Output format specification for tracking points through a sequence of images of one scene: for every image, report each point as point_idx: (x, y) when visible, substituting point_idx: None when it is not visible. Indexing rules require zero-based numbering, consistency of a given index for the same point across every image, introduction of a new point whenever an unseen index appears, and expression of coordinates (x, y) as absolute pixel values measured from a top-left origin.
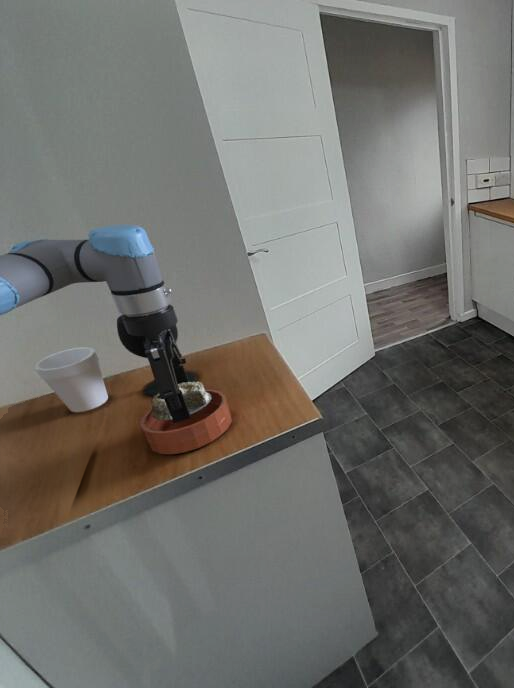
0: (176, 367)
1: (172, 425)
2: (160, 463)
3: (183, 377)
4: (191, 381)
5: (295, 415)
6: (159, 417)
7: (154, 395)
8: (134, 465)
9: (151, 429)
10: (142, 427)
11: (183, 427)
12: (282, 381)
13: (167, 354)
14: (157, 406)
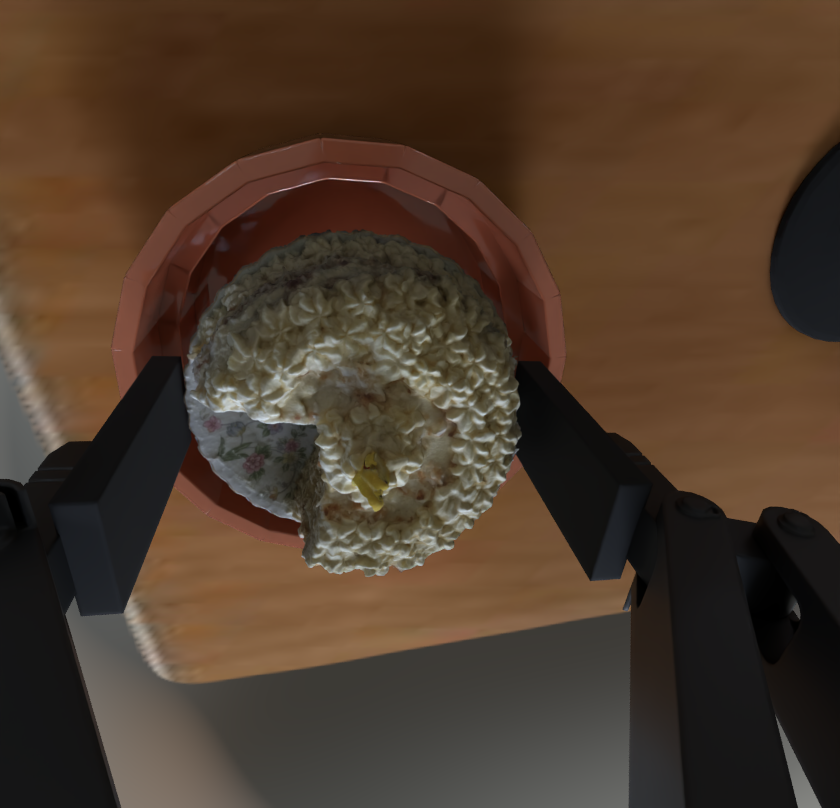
0: (613, 544)
1: (455, 242)
2: (141, 178)
3: (550, 494)
4: (804, 327)
5: (233, 643)
6: (239, 286)
7: (833, 158)
8: (191, 46)
9: (375, 169)
10: (275, 150)
11: (132, 383)
12: (512, 614)
13: (654, 730)
14: (251, 326)
